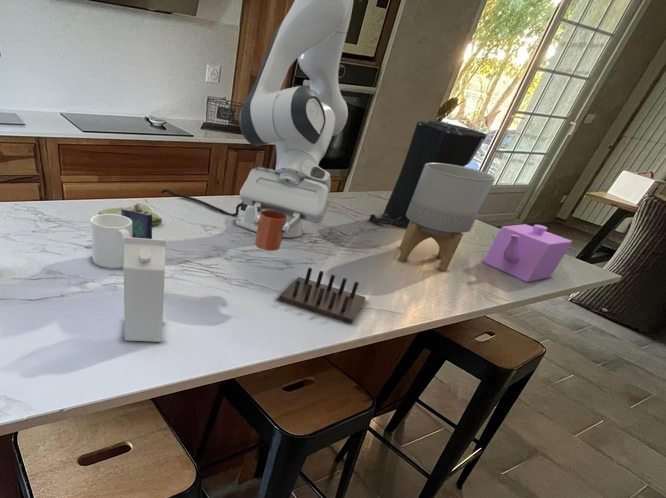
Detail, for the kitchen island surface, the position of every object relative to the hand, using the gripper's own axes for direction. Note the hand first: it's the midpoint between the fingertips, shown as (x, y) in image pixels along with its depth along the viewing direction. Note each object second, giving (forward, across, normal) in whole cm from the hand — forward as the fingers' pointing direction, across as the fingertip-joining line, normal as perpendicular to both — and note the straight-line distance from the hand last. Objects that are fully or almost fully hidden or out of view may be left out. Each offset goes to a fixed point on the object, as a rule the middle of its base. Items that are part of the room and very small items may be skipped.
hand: (270, 227), depth 98 cm
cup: (+3, 0, +4) cm, 4 cm away
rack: (+7, +15, +14) cm, 22 cm away
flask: (+8, -40, +14) cm, 43 cm away
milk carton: (+35, -11, -13) cm, 39 cm away
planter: (-29, +33, +51) cm, 68 cm away
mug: (+19, -36, +3) cm, 41 cm away
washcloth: (-1, -52, +23) cm, 57 cm away
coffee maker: (-58, +22, +80) cm, 102 cm away
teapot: (-39, +61, +61) cm, 94 cm away
